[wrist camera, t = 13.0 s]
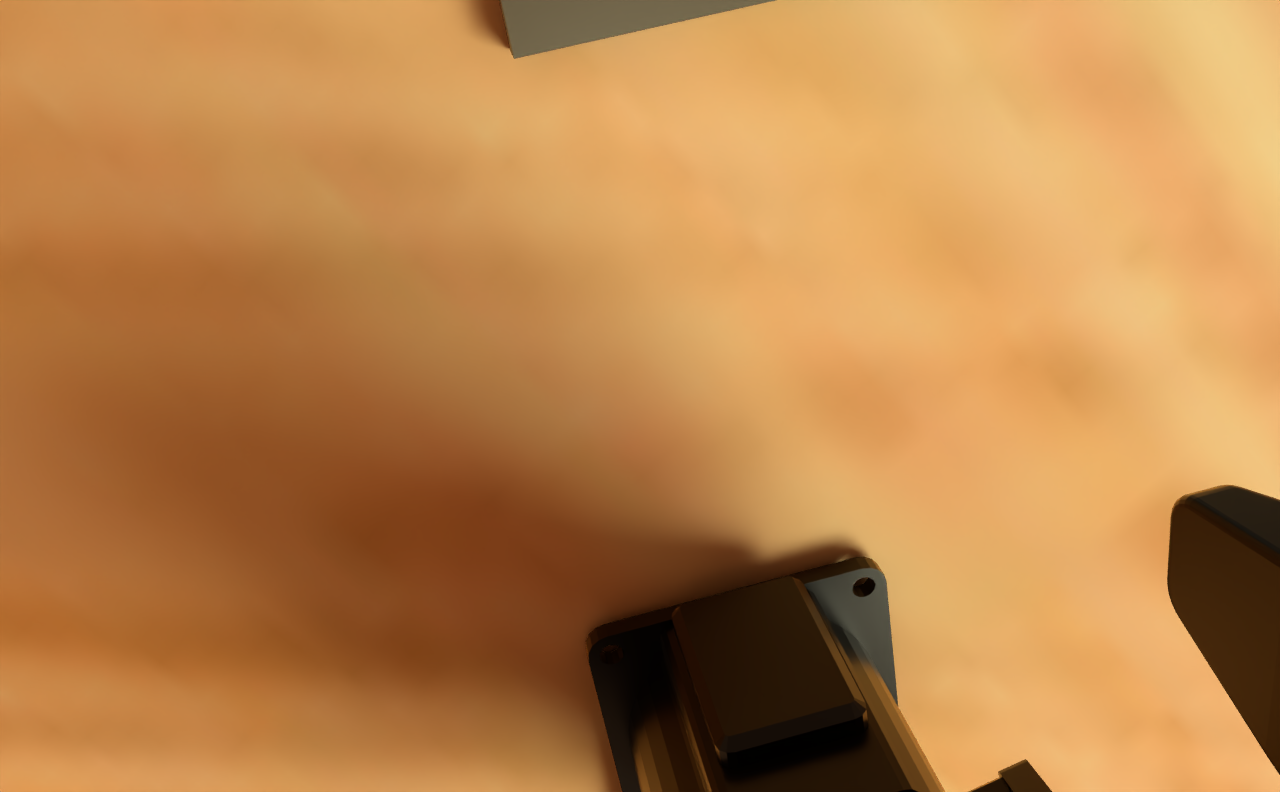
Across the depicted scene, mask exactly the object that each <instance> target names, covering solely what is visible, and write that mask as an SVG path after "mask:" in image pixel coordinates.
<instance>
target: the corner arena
mask: <svg viewBox="0 0 1280 792" xmlns="http://www.w3.org/2000/svg"><path fill="white" fill-rule="evenodd" d="M770 1H775V0H499V2H500V6H501V11H502V15H503V20H504V24H505V28H506V33H507V37H508V42H509V46H510V50H511V53H512V55H513V57H514V59H515V58H520V57H524V56H529V55H533V54H538V53H542V52H547V51H551V50H555V49H560V48H564V47H569V46H573V45H578V44H582V43H587V42H591V41H596V40H600V39H605V38H609V37H614V36H618V35H623V34H627V33H632V32H636V31H640V30H645V29H649V28H654V27H658V26H663V25H667V24H672V23H676V22H681V21H685V20H690V19H694V18H699V17H703V16H708V15H712V14H717V13H721V12H725V11H730V10H734V9H739V8H743V7H748V6H752V5H757V4H761V3H766V2H770Z"/></svg>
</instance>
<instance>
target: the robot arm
mask: <svg viewBox="0 0 1280 792" xmlns="http://www.w3.org/2000/svg"><path fill="white" fill-rule="evenodd" d="M867 577H868V579H867V580H866V581H865V582H864V583H863V584H861V585H859V586H853V585H854V584H855V583H856V581H857V580H859V579H861V578H867ZM1167 584H1168V591H1169V596H1170V599H1171V602H1172V604H1173V607H1174V609H1175V611H1176V613H1177V615H1178V616H1179V618H1180V620H1181V621H1182V623H1183V624H1184V626H1185V628H1186V629H1187V631H1188V632H1189V634H1190V635H1191V637H1192V639H1193V640H1194V642H1195V643H1196V645H1197V646H1198V648H1199V650H1200V651H1201V653H1202V654H1203V656H1204V658H1205V659H1206V661H1207V662H1208V664H1209V665H1210V667H1211V669H1212V670H1213V672H1214V673H1215V675H1216V676H1217V678H1218V680H1219V681H1220V683H1221V684H1222V686H1223V688H1224V689H1225V691H1226V692H1227V694H1228V695H1229V697H1230V699H1231V700H1232V702H1233V703H1234V705H1235V706H1236V708H1237V710H1238V711H1239V713H1240V714H1241V716H1242V718H1243V719H1244V721H1245V722H1246V724H1247V725H1248V727H1249V729H1250V730H1251V732H1252V733H1253V735H1254V736H1255V738H1256V740H1257V741H1258V743H1259V744H1260V746H1261V747H1262V749H1263V751H1264V752H1265V754H1266V755H1267V757H1268V758H1269V760H1270V761H1271V763H1272V764H1273V766H1274V767H1275V769H1276V770H1277V771H1278V773H1279V774H1280V500H1279V499H1276V498H1273V497H1269V496H1266V495H1263V494H1260V493H1257V492H1254V491H1251V490H1248V489H1245V488H1242V487H1238V486H1234V485H1222V486H1217V487H1213V488H1210V489H1206V490H1202V491H1198V492H1195V493H1191V494H1187V495H1184V496H1182V497H1181V498H1179V499H1178V500H1177V501H1176V502H1175V504H1174V506H1173V508H1172V513H1171V523H1170V540H1169V557H1168V575H1167ZM609 645H617V646H619V647H618V648H617V649H616V650H614V651H612V652H603V651H602V650H603V649H604V648H605V647H607V646H609ZM586 652H587V656H588V661H589V665H590V668H591V672H592V676H593V680H594V684H595V688H596V692H597V695H598V699H599V703H600V707H601V711H602V715H603V718H604V722H605V726H606V730H607V734H608V738H609V742H610V745H611V749H612V753H613V757H614V761H615V765H616V768H617V772H618V776H619V780H620V784H621V788H622V792H945V791H944V789H943V787H942V785H941V783H940V782H939V780H938V778H937V776H936V774H935V773H934V771H933V769H932V767H931V765H930V764H929V762H928V760H927V758H926V756H925V755H924V753H923V751H922V749H921V747H920V746H919V744H918V742H917V740H916V738H915V737H914V735H913V733H912V731H911V729H910V728H909V726H908V724H907V722H906V720H905V718H904V717H903V715H902V713H901V711H900V709H899V708H898V701H897V690H896V679H895V669H894V658H893V647H892V637H891V626H890V615H889V604H888V594H887V583H886V579H885V576H884V574H883V572H882V571H881V569H880V568H879V566H878V564H877V563H876V562H874V561H873V560H872V559H870V558H866V557H858V558H853V559H849V560H845V561H841V562H838V563H834V564H830V565H826V566H823V567H819V568H815V569H811V570H807V571H804V572H800V573H796V574H792V575H789V576H785V577H781V578H777V579H774V580H770V581H766V582H762V583H758V584H755V585H751V586H747V587H743V588H740V589H736V590H732V591H728V592H725V593H721V594H717V595H713V596H710V597H706V598H702V599H698V600H694V601H691V602H687V603H683V604H679V605H676V606H672V607H668V608H664V609H661V610H657V611H653V612H649V613H645V614H642V615H638V616H634V617H630V618H627V619H623V620H619V621H615V622H612V623H608V624H604V625H602V626H600V627H597V628H595V629H594V630H593V631H592V632H591V633H590V634H589V636H588V638H587V640H586ZM998 774H999V778H997V779H995V780H993V781H990V782H988V783H986V784H984V785H982V786H980V787H977V788H975V789H973V790H971V791H969V792H1052V791H1051V790H1050V788H1049V787H1048V786H1047V785H1046V783H1045V782H1044V781H1043V780H1042V778H1041V777H1040V776H1039V775H1038V773H1037V772H1036V771H1035V770H1034V768H1033V767H1032V766H1031V765H1030V764H1029V762H1028V761H1027V760H1026V759H1025V760H1023V761H1021V762H1018V763H1016V764H1014V765H1012V766H1010V767H1007V768H1005V769H1003V770H1001V771H999V772H998Z"/></svg>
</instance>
